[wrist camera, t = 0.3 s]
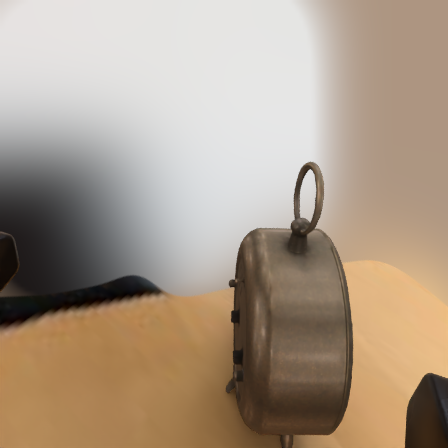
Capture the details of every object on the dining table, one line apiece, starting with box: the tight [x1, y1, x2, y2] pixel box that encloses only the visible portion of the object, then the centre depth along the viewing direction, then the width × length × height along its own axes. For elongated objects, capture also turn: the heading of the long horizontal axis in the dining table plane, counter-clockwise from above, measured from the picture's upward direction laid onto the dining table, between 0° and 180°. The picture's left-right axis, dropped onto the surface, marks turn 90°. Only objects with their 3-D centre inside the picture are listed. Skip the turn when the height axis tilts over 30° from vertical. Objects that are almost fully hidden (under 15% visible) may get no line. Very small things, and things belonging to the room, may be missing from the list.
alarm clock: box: [226, 162, 353, 448], centre depth 21 cm, size 11×5×16 cm, turn 1°
